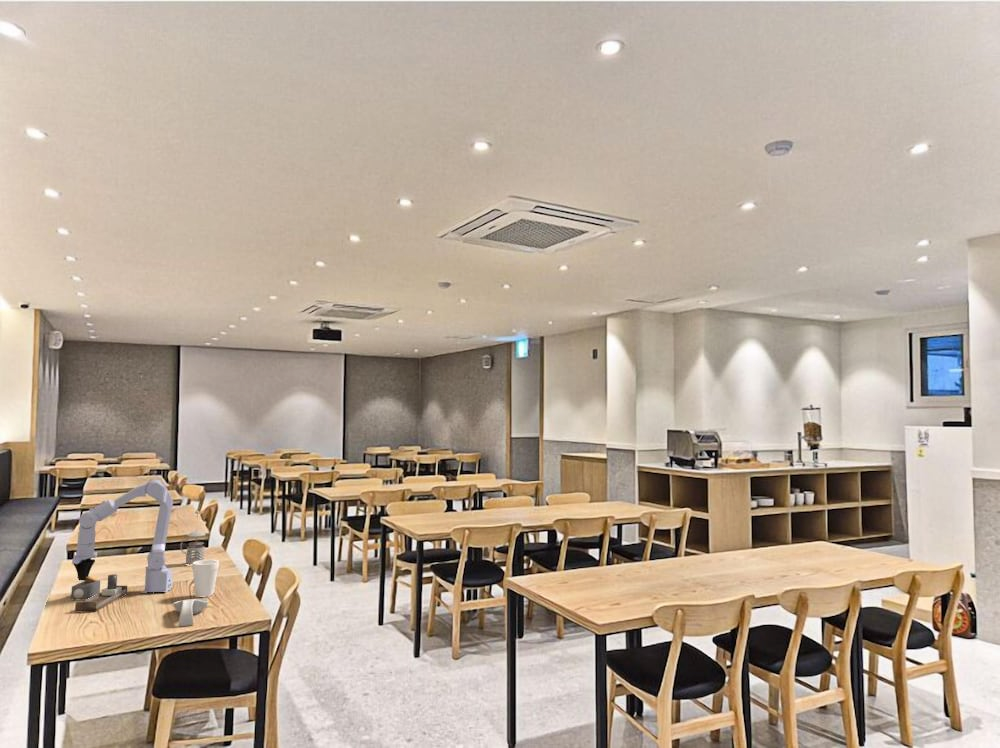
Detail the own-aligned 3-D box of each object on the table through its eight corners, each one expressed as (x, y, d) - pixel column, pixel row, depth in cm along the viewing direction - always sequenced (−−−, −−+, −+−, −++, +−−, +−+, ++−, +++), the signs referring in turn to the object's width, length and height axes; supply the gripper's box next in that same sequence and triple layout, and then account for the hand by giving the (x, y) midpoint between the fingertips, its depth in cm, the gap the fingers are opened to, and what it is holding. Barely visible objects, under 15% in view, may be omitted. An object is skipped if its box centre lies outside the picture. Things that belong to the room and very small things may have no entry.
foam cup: (217, 592, 270) (219, 559, 271) (217, 597, 262) (218, 563, 263) (191, 593, 267) (193, 560, 268) (190, 599, 258) (191, 565, 259)
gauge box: (99, 593, 266) (100, 580, 266) (85, 600, 256) (86, 586, 256) (84, 593, 265) (85, 580, 266) (70, 600, 255) (71, 586, 256)
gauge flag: (96, 581, 265) (96, 579, 265) (88, 577, 258) (88, 576, 259) (85, 581, 264) (86, 579, 265) (77, 578, 258) (77, 576, 258)
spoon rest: (174, 609, 246) (175, 589, 247) (209, 606, 250) (210, 587, 251) (167, 628, 224) (168, 606, 225) (205, 625, 228) (206, 603, 229)
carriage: (121, 592, 262) (122, 573, 263) (115, 595, 257) (116, 576, 258) (108, 592, 262) (109, 573, 262) (101, 595, 257) (102, 576, 257)
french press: (204, 566, 317) (206, 512, 318) (177, 566, 314) (179, 512, 316) (208, 561, 326) (210, 509, 328) (182, 562, 323) (184, 509, 325)
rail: (126, 594, 265) (127, 585, 265) (95, 611, 241) (96, 602, 241) (108, 594, 264) (108, 585, 264) (75, 612, 240) (75, 602, 241)
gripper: (84, 540, 267) (82, 575, 266) (64, 546, 252) (61, 583, 251) (103, 540, 268) (100, 575, 266) (84, 546, 253) (81, 583, 252)
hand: (83, 579), depth 259 cm, fingers closed, pressing on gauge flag
